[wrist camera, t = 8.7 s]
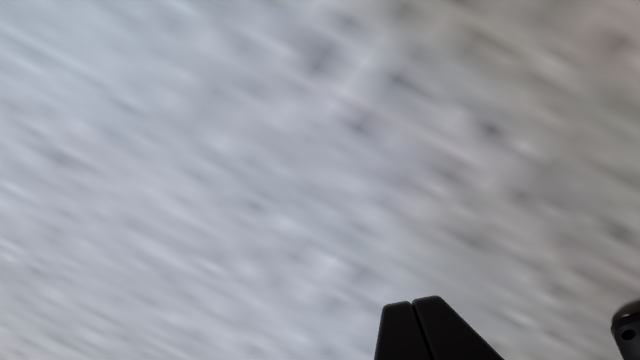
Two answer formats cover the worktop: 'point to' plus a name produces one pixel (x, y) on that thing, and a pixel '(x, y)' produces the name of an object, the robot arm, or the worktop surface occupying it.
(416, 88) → the worktop surface
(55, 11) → the worktop surface
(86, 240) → the worktop surface
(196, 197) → the worktop surface
